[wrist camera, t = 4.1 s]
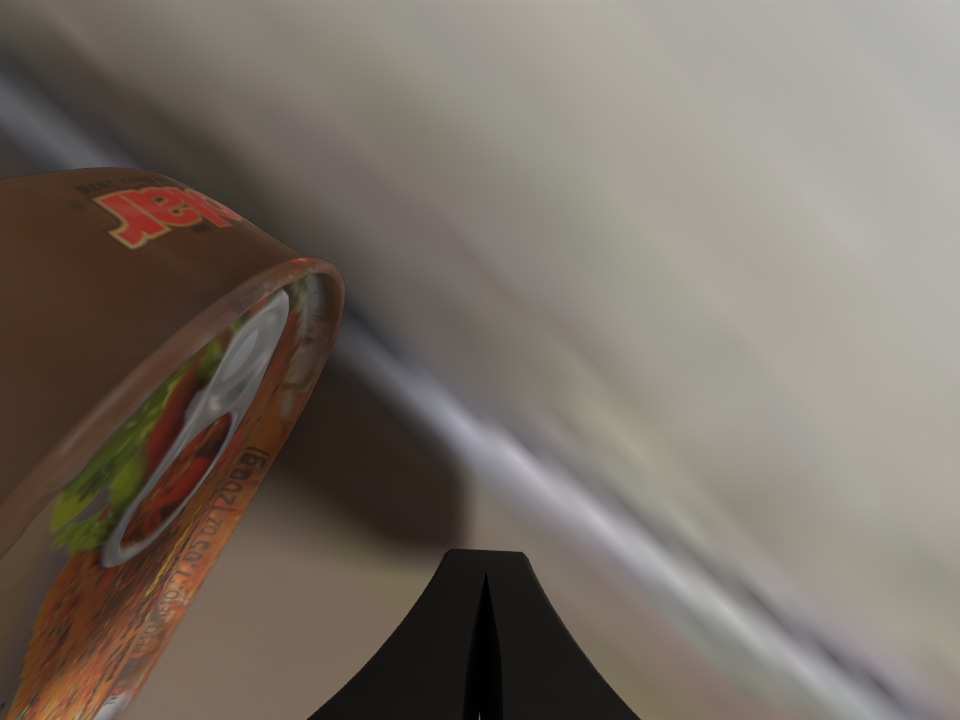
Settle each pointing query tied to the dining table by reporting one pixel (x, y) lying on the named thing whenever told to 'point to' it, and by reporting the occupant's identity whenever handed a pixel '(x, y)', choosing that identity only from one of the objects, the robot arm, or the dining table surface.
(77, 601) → the tin
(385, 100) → the dining table surface
